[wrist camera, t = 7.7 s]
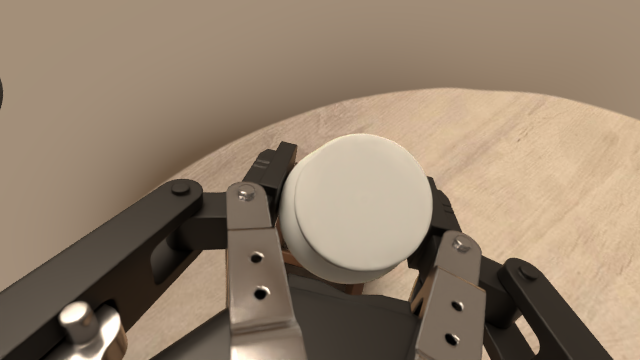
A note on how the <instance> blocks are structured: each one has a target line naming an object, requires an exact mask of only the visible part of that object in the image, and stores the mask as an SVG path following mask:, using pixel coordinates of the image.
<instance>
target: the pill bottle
mask: <svg viewBox="0 0 640 360" xmlns="http://www.w3.org/2000/svg"><path fill="white" fill-rule="evenodd" d="M432 210H433V199H432V192H431V188H430V184H429V182H428V179H427V177H426V174H425V172H424V170H423V168H422V167H421V166H420V164H419V163H418V161H417V160H416V159H415V158H414V157H413V156H412V155H411V154H410V153H409V152H408V151H407V150H406V149H404V148H403V147H402V146H400V145H399V144H397V143H395V142H394V141H392V140H390V139H387V138H384V137H381V136H377V135H372V134H350V135H345V136H341V137H338V138H336V139H333V140H331V141H330V142H328V143H326V144H325V145H323V146H322V147H320V148H319V149H317V150H315V151H314V152H312V153H310V154H308V155H307V156H306V157H304V158H303V159H302V160H301V161H300V162H299V163H298V164H297V165H296V166H295V167H294V168H293V170H292V171H291V172H290V174H289V176H288V177H287V179H286V181H285V183H284V186H283V189H282V192H281V195H280V201H279V211H278V214H279V225H280V229H281V232H282V235H283V238H284V241H285V243H286V245H287V247H288V249H289V250H290V252H291V253H292V255H293V256H294V257H295V259H296V260H297V261H298V262H299V263H300V264H301V265H302V266H303V267H304V268H306V269H307V270H308V271H310V272H311V273H313V274H314V275H316V276H318V277H320V278H322V279H325V280H328V281H331V282H335V283H341V284H359V283H365V282H369V281H372V280H375V279H377V278H379V277H381V276H383V275H385V274H387V273H388V272H390V271H391V270H393V269H394V268H395V267H396V266H398V264H399V263H401V262H402V261H404V260H406V259H407V258H408V257H409V256H410V255H411V254H413V252H414V251H415V250H416V249H417V248H418V247H419V245H420V244H421V242H422V241H423V239H424V237H425V235H426V234H427V232H428V229H429V226H430V222H431V218H432Z"/></svg>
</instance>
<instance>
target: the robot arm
mask: <svg viewBox="0 0 640 360" xmlns="http://www.w3.org/2000/svg"><path fill="white" fill-rule="evenodd" d="M296 153H297V145H295V144H291V143H287V142H283V141H282V142H281V143H280V145H279V147H278V148H277V150H276V151H275V150H270V149H267V150H265V151H263V152H261V153H260V154H259V155H258V157H257V159H256V161H255V162H254V163H253V166H251V168H250V169H249V171H248V173H247V174H246V176H245V177H244V179H243V180H242V182H237V183H234V184H232V185H231V186H230V187H229V188H228V189H227V192H221V193H206V192H203V189H202V186H201V185H200V184H199V183H198V182H196V181H193V180H189V179H176V180H172V181H169V182H166V183H165V184H163V185H161V186H160V187H158V188H157V189H155V190H154V191H152V192H151V193H149V194H148V195H146V196H145V197H143V198H142V199H140V200H139V201H137V202H136V203H134V204H133V205H131V206H130V207H128V208H127V209H125V210H124V211H122V212H121V213H119V214H118V215H116V216H115V217H113V218H112V219H110V220H109V221H107V222H106V223H104V224H103V225H101V226H100V227H98V228H96V229H95V230H93V231H92V232H90V233H89V234H87V235H86V236H84V237H83V238H81V239H80V240H78V241H77V242H75V243H74V244H72V245H71V246H69V247H68V248H66V249H65V250H63V251H62V252H60V253H59V254H57V255H56V256H54V257H53V258H51V259H50V260H48V261H47V262H45V263H44V264H42V265H41V266H39V267H38V268H36V269H35V270H33V271H32V272H30V273H29V274H27V275H26V276H24V277H23V278H21V279H19V280H18V281H16V282H15V283H13V284H12V285H11V286H9V287H7V288H6V289H4V290H3V291H2V292H0V360H122V359H123V357H124V355H125V353H126V351H127V346H128V340H127V336H126V332H127V331H128V330H129V329H130V328H131V327H132V326H133V325H134V324H135V323H136V322H137V321H138V320H139V319H140V317H141V316H142V315H143V314H144V313H145V312H146V311H147V310H148V309H149V308H150V307H151V306H152V305H153V304H154V303H155V301H156V300H157V299H158V298H159V297H160V296H161V295H162V294H163V293H164V292H165V291H166V290H167V289H168V288H169V286H170V285H171V284H172V283H173V282H174V281H175V280H176V279H177V278H178V277H179V276H180V275H181V274H182V273H183V272H184V270H185V269H186V268H187V267H188V266H189V265H190V264H191V263H192V262H193V261H194V260H195V259H196V258H197V257H198V255H199V254H200V253H201V252H202V251H203V250H215V249H225V257H226V308H225V309H224V310H222V311H221V312H219V313H218V314H216V315H215V316H213V317H212V318H210V319H209V320H207V321H206V322H204V323H203V324H201V325H200V326H198V327H197V328H195V329H194V330H193V331H191V332H190V333H188V334H187V335H185V336H184V337H182V338H181V339H179V340H178V341H176V342H175V343H173V344H172V345H170V346H169V347H167V348H166V349H164V350H163V351H161V352H160V353H158V354H157V355H155V356H154V357H152V358H151V359H149V360H481V359H482V346H483V345H484V347H485V349H486V351H487V353H488V355H489V357H490V359H491V360H613V359H612V357H611V356H610V355H609V354H608V352H607V351H606V350H605V349H604V348H603V346H602V345H601V344H600V343H599V341H598V340H597V339H596V338H595V337H594V335H593V334H592V333H591V332H590V331H589V329H588V328H587V327H586V326H585V324H584V323H583V322H582V321H581V320H580V318H579V317H578V316H577V315H576V313H575V312H574V311H573V310H572V309H571V307H570V306H569V305H568V304H567V303H566V301H565V300H564V299H563V298H562V296H561V295H560V294H559V293H558V292H557V290H556V289H555V288H554V287H553V285H552V284H551V283H550V282H549V281H548V279H547V278H546V277H545V276H544V275H543V273H542V272H541V271H539V270H538V269H537V268H536V267H535V266H533V265H532V264H530V263H528V262H526V261H524V260H521V259H518V258H509V259H507V260H506V262H505V263H504V264H503V265H502V264H499V263H497V262H495V261H493V260H491V259H489V258H486V257H484V256H483V255H482V251H481V248H480V247H479V245H478V244H477V243H476V242H475V241H474V240H473V239H472V238H471V237H469V236H468V235H466V234H464V233H462V231H461V228H460V226H459V224H458V221H457V219H456V216H455V214H454V211H453V209H452V208H451V204H450V201H449V199H448V198H447V196H446V195H445V194H444V193H443V192H442V191H441V190H437V188H436V185H435V183H434V180H433V178H432V177H428V176H426V177H427V179H428V182H429V184H430V188H431V192H432V199H433V210H432V218H431V222H430V226H429V229H428V232H427V234H426V235H425V237H424V239H423V241H422V242H421V244H420V245H419V247H418V248H417V249H416V250H415V251H414V252H413V254H411V255H410V256H409V257H408V258H407V262H408V268H412V269H416V270H419V275H418V277H417V278H416V280H415V282H414V285H413V288H412V291H411V294H410V297H409V299H408V301H404V300H399V299H395V298H391V297H387V296H383V295H349V294H346V293H344V292H342V291H340V290H338V289H336V288H334V287H331V286H329V285H327V284H325V283H323V282H321V281H319V280H315V279H311V278H307V277H303V276H298V275H294V274H290V273H289V274H288V278H287V275H286V270H285V265H284V260H283V255H282V250H281V245H280V240H279V236H278V231H277V228H276V227H275V223H276V221H277V218H278V215H279V214H278V211H279V201H280V195H281V192H282V189H283V186H284V183H285V181H286V179H287V177H288V176H289V174H290V172H291V171H292V170H293V168H294V164H295V158H296ZM522 315H523V316H524V318H525V319H526V321H527V322H528V324H529V325H530V327H531V328H532V330H533V331H534V333H535V334H536V336H537V338H538V340H539V343H540V350H539V352H538V354H537V355H535V354H534V352H533V351H532V349H531V348H530V346H529V344H528V343H527V341H526V340H525V338H524V336H523V335H522V333H521V332H520V330H519V328H518V327H517V325H516V324H515V321H516V320H517V319H518V318H519V317H520V316H522Z"/></svg>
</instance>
